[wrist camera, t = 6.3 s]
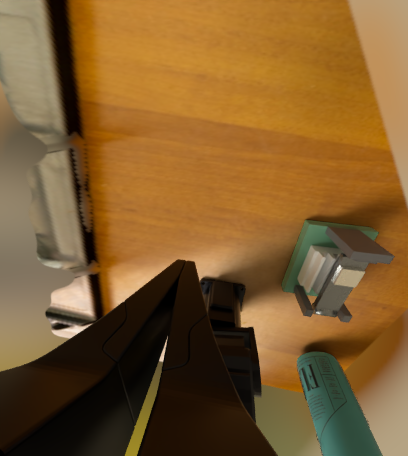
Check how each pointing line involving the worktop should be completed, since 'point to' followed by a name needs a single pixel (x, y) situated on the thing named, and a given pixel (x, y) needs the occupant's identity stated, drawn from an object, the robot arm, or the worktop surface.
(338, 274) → the strap
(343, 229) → the board
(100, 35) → the worktop surface
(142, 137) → the worktop surface
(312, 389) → the beverage bottle
